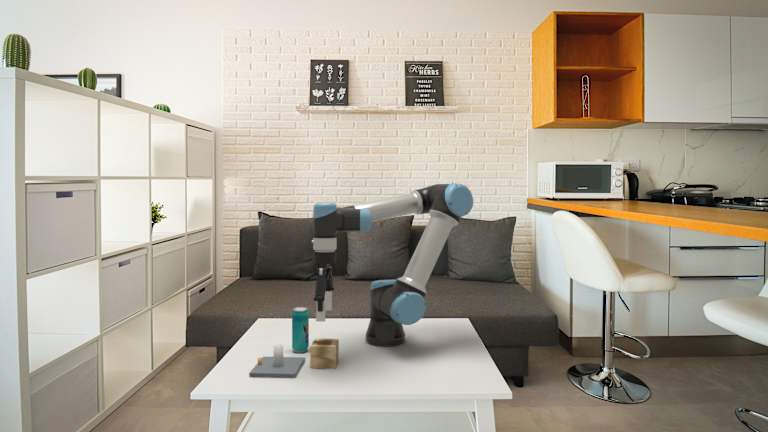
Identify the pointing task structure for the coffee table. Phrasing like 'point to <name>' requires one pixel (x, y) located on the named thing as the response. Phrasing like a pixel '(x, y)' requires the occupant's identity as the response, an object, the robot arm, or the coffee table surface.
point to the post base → (278, 371)
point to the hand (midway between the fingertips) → (324, 315)
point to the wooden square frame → (324, 353)
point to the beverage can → (300, 329)
